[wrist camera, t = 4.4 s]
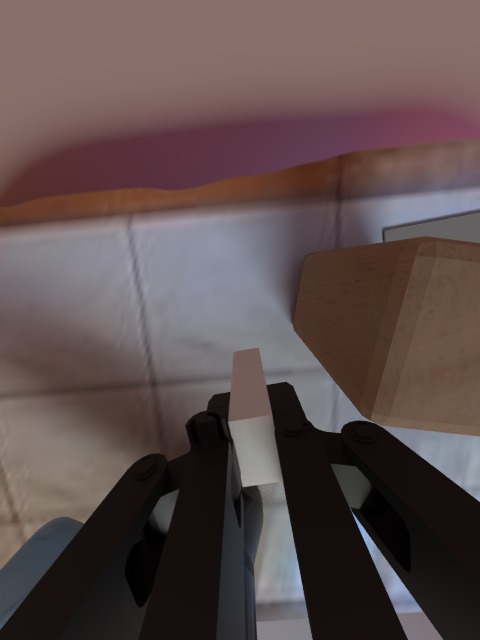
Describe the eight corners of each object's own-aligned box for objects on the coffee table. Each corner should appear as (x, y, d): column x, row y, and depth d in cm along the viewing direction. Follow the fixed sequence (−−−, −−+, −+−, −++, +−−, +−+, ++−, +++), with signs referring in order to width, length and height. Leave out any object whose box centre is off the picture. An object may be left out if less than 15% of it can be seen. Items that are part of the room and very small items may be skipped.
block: (303, 252, 30) (420, 230, 10) (382, 262, 30) (643, 259, 11) (289, 329, 32) (364, 431, 13) (363, 338, 32) (549, 452, 13)
